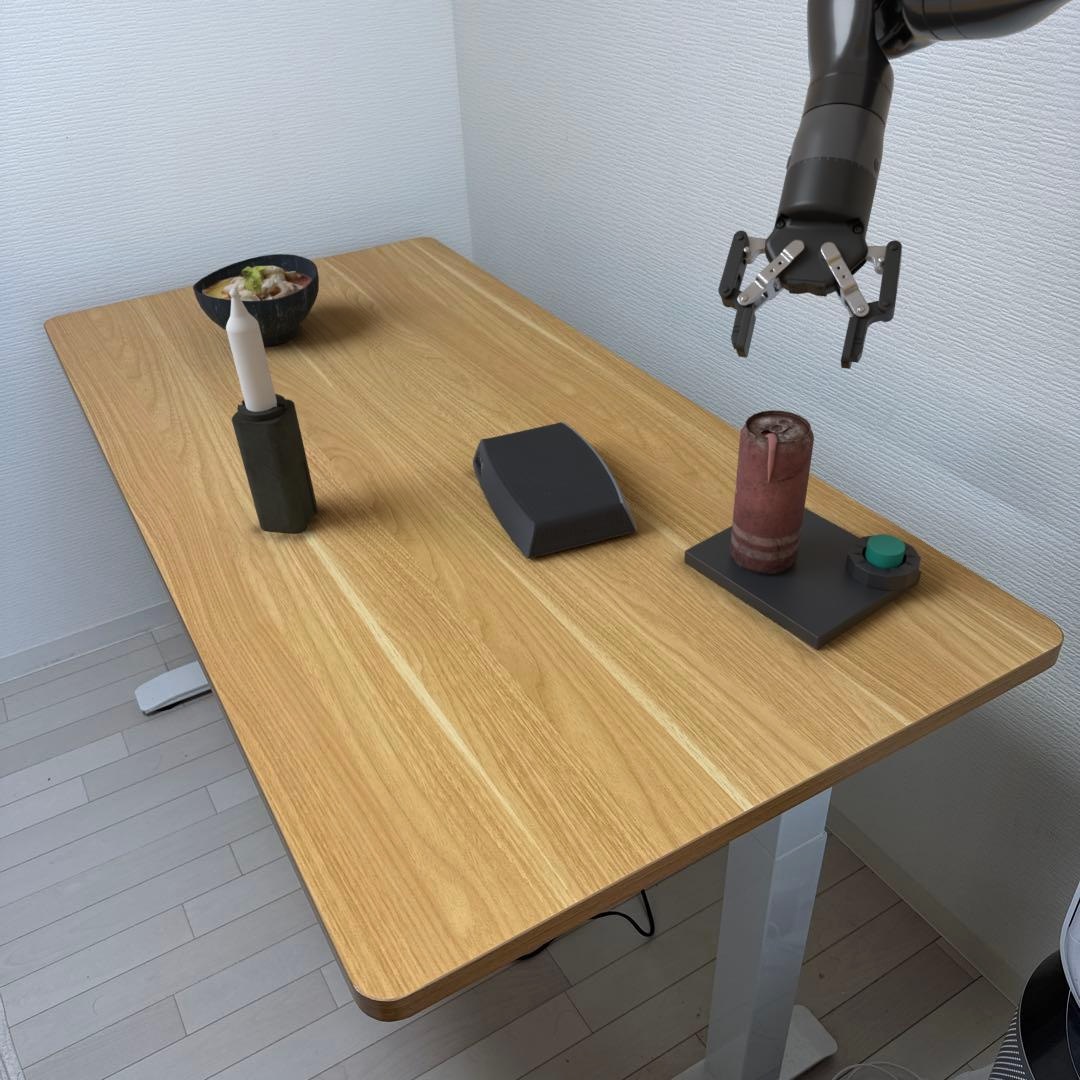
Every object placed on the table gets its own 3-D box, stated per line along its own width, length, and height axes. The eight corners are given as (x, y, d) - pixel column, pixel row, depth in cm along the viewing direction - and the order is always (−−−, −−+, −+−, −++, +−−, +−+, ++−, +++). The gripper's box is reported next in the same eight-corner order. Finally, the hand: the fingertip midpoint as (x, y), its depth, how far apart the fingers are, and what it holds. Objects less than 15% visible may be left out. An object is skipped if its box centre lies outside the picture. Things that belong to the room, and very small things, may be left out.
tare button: (909, 559, 86) (913, 545, 85) (887, 573, 84) (890, 559, 84) (880, 543, 88) (882, 529, 87) (857, 557, 87) (860, 543, 86)
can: (729, 576, 87) (741, 442, 79) (730, 535, 92) (741, 405, 84) (798, 581, 86) (817, 445, 78) (795, 539, 91) (813, 408, 83)
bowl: (183, 344, 138) (164, 277, 132) (272, 303, 149) (258, 240, 143) (264, 371, 130) (247, 300, 124) (352, 325, 141) (341, 258, 135)
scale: (928, 583, 87) (934, 557, 85) (821, 654, 80) (826, 626, 79) (787, 506, 98) (791, 481, 96) (683, 562, 91) (685, 536, 90)
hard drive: (576, 443, 110) (575, 411, 108) (645, 534, 95) (645, 500, 93) (466, 467, 107) (463, 435, 105) (520, 565, 92) (517, 530, 90)
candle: (277, 503, 103) (220, 277, 88) (321, 506, 102) (271, 279, 88) (256, 530, 99) (193, 299, 84) (302, 534, 98) (246, 300, 84)
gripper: (918, 203, 82) (881, 385, 81) (753, 195, 87) (715, 365, 86) (922, 156, 75) (881, 354, 74) (741, 150, 80) (700, 334, 79)
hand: (792, 359), depth 80 cm, fingers open, 8 cm apart
